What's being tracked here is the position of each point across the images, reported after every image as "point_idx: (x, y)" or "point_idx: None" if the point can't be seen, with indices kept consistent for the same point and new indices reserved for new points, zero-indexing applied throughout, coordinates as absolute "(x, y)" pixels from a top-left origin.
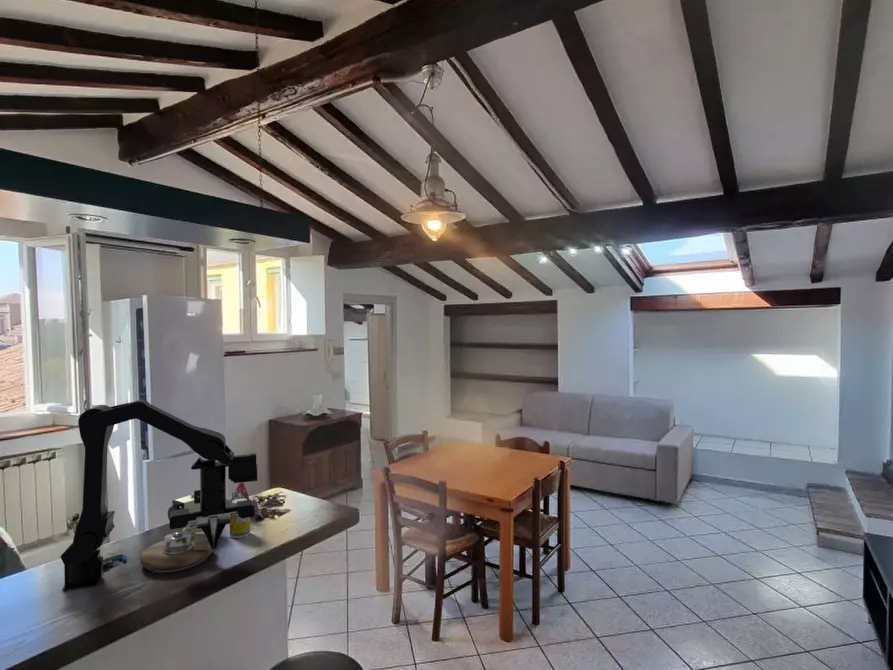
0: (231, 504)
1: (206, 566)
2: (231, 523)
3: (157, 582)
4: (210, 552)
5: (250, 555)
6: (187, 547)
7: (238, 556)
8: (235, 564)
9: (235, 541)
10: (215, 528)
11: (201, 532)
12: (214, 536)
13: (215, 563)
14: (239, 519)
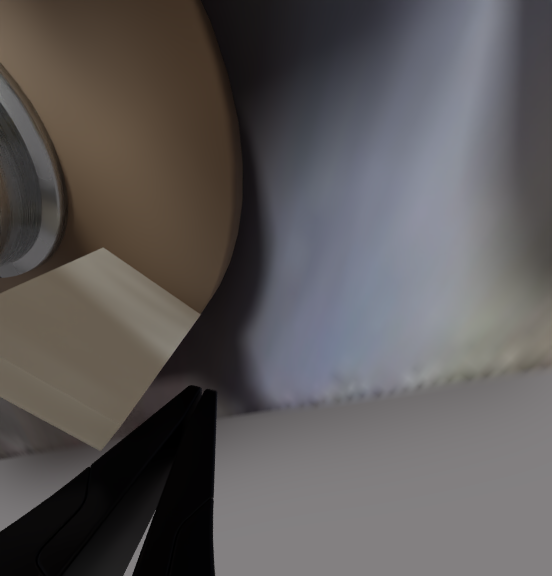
0: None
1: (198, 341)
2: None
3: None
4: (208, 302)
5: (422, 364)
6: (18, 255)
7: (365, 336)
8: (317, 401)
9: (495, 19)
10: (140, 554)
11: (8, 373)
12: (174, 462)
13: (240, 338)
14: None
